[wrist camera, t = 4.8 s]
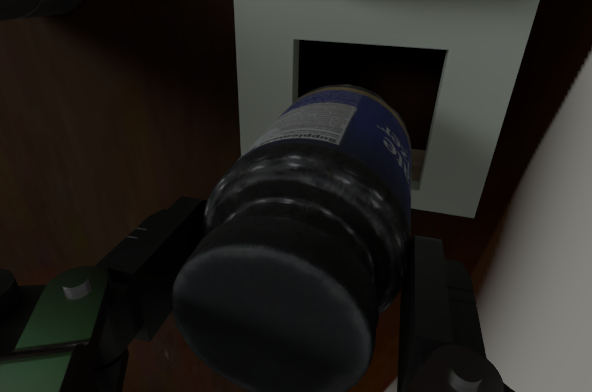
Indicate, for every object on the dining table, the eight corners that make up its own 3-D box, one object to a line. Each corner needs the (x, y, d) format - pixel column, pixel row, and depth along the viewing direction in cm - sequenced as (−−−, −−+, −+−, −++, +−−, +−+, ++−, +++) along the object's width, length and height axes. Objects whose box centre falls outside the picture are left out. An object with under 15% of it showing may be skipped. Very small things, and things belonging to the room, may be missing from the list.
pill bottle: (417, 201, 18) (424, 437, 9) (294, 211, 20) (194, 412, 11) (402, 66, 16) (390, 202, 6) (262, 93, 18) (95, 226, 8)
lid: (249, 173, 26) (215, 213, 22) (235, -194, 17) (172, -250, 13) (471, 207, 23) (483, 261, 19) (596, -218, 14) (674, -303, 10)
